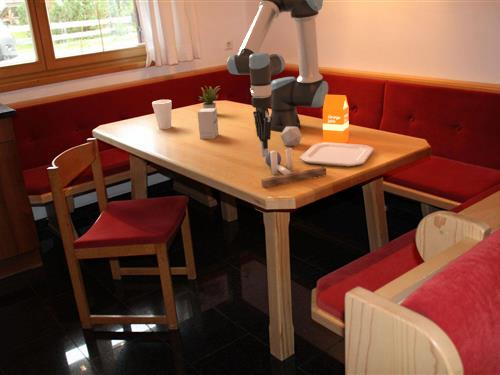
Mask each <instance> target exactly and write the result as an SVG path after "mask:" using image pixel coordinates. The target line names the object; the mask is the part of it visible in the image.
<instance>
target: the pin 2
mask: <svg viewBox="0 0 500 375" xmlns="http://www.w3.org/2000/svg"><path fill="white" fill-rule="evenodd" d="M293 159H294V158H293V148H292V147H286V148H285V168H286V169H288V170H289V171H291V172H292V173H293V171H294V164H293V161H294V160H293Z"/></svg>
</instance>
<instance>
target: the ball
mask: <svg viewBox="0 0 500 375" xmlns="http://www.w3.org/2000/svg"><path fill="white" fill-rule="evenodd" d="M277 160H278V165H281V164H282V156H281V153H279V152H278V151H277ZM265 163H266V165H267V166H268V167H270V168H271V154H270V152H269V151H268V154H267V155H266V156H265Z"/></svg>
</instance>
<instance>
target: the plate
mask: <svg viewBox="0 0 500 375" xmlns="http://www.w3.org/2000/svg"><path fill="white" fill-rule="evenodd" d="M374 150H375V149H374V148H373V147H372V146H370V145H367V144H359V143H358V144H357V143H329V142H324V143H323V142H318V143H314V144H313V145H311V146H310V147H309V148H308V149H307V150H306V151H305V152H304V153H303V154H302V155H301V156H299V159H300V160H302V161H304V162H305V163H308V164H311V165H319V164H320V165H322V166H331V165H333V166H334V167H343V166H346V167H345V168H350V167H351V166H352V167H356V165H357V166H360V165H363V164H364V163H366V161H367V160H368V159H369V157H370V156H371V155H372V153H373V152H374ZM333 166H332V167H333Z"/></svg>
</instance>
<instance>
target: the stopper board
mask: <svg viewBox="0 0 500 375" xmlns="http://www.w3.org/2000/svg"><path fill="white" fill-rule="evenodd" d="M323 175H326V176H327V168H326V167H324V166H323V167H317V168H312V169H307V170H303V171H298V172H292V173H291V174H286V175H283V174H282V175H278V176H277V175H275V176H272V177H267V178H262V179H261V180H260V181H261V187H262V188H263V187H267V188H270V187H269V186H272V187H275V186H274V185H277V186H280V185H279V184H282V185H285V184H284V183H287V184H291V183H290V182H292V183H296V182H295V181H297V182H300V180H301V181H306V180H311V179H315V178H314V177H316V178H320V177H319V176H321V177H324V176H323ZM310 178H311V179H310Z"/></svg>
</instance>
